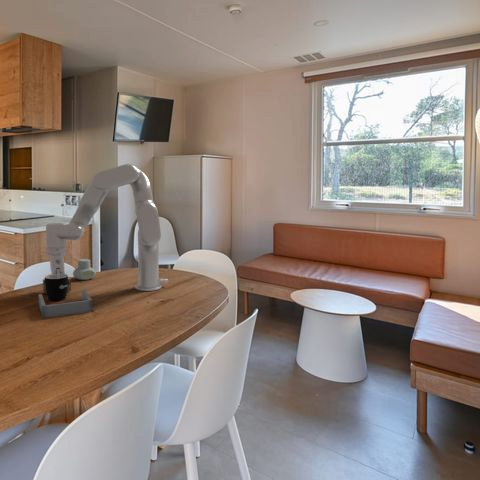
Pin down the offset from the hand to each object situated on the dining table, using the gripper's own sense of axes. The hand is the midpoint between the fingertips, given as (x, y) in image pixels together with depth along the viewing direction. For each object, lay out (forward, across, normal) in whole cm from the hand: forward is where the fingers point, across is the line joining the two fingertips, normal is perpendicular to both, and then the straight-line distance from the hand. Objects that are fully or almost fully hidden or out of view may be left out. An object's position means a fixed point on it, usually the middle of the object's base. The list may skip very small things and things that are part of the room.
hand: (57, 290), depth 170 cm
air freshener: (+1, +21, -15) cm, 26 cm away
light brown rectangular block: (0, 0, 0) cm, 0 cm away
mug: (+1, -9, 0) cm, 9 cm away
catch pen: (+1, -23, 0) cm, 23 cm away
